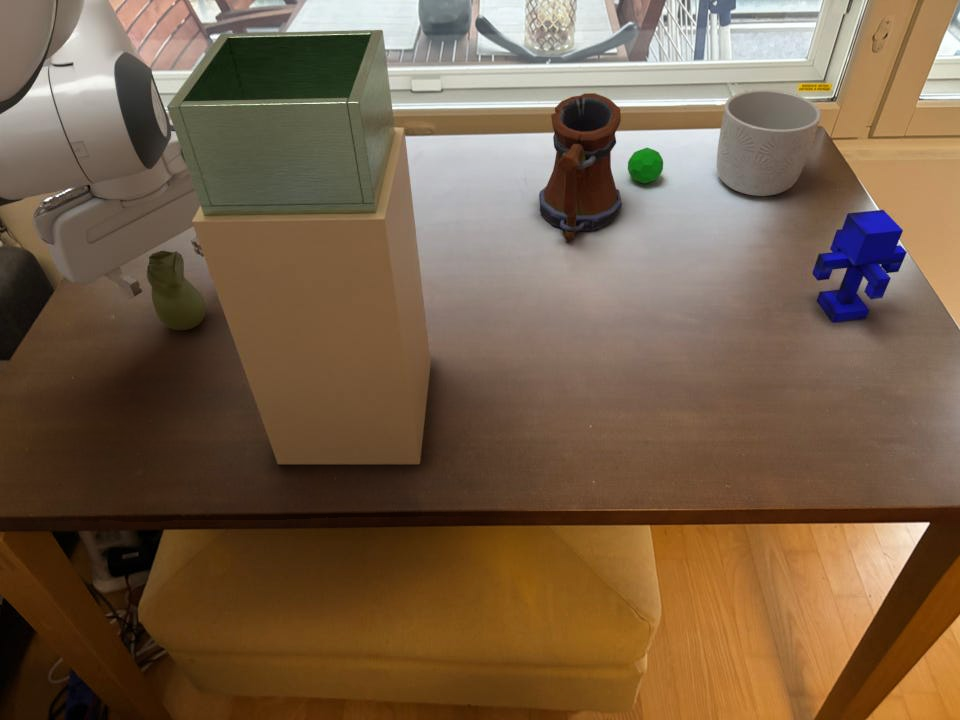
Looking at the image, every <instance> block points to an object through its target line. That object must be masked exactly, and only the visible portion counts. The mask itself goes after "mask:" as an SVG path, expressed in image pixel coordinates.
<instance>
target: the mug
mask: <svg viewBox="0 0 960 720" xmlns="http://www.w3.org/2000/svg"><path fill="white" fill-rule="evenodd" d="M554 111H555V112H554V113H552V114H550V118H551V125H552V129H553V132H554V133H553V136H552V139H553V140H552V141H553V147H554V150H555V151H556V153H555V159H554V164H553V169H552V173H551V175H550V176H549V179H548V181H547V184H546V186H545V187H543V188H542V189H541V190H540V191H539V194H538V200H539V210H540V211H539V212H540V215H541V217H543V218H544V219H545V220H546V221H548V223H550V225H552V226H554V227H558V228H561V229H563V230H564V231H565V233H564V240H565V241H567V242H571V241H572V240H573V239H574V237H575V235H576V234H577V232H578V231H581V232H582V231H583V232H584V231H596V230H598V229H600V228H602V227H605V226H607V225H609V224H610V223H612V222H613V220H614V219H615V217H616V216H617V214H618V213H619V212H620V211H621V209H622V206H623V203H622V197H621V192H620V190H619V189H618V188H617V186H616V183H615V180H614V179H615V178H614V175H613V171H612V166H611V165H612V164H611V163H612V162H611V161H612V156H611V155H612V154H611V153H612V151H613V149H614V147H615V146H616V144H617V139H616V133H617V130H618V128H619V127H620V124H621V121H622V118H621V108H620V107H619V106H618V105H617V104H615V102H614V101H612V100H611V99H610V98H608V97H606V96H604V95H601V94H598V93H595V92H594V93H593V92H591V93H587V92H586V93H583V94H581V95H574V96H571V97H568V98H566V99H564V100H561V101H560V102H559V103H558V104H557V106H555V108H554Z"/></svg>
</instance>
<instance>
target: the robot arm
mask: <svg viewBox="0 0 960 720" xmlns="http://www.w3.org/2000/svg"><path fill="white" fill-rule="evenodd" d="M51 193H55V194H51ZM47 194H50V195H48V196H46V197H44V198H41V200H40V201H39V205H38V206H37V207H36V208H35V210H34V212H33V213H32V216H31V221H32V224H33V225H32V226H33V227H34V229H35V231H36V233H37V235H38V237H39V238H40V239H41V241H43V242H44V243H46V246H47V249H48V252H49V254H50V256H51V257H50V258H51V260H52V261H53V264H54V266H55V268H56V270H57V271H58V272H59V273H60V275H61V276H62V277H63V278H65V279H66V280H68V281H69V282H71V283H74V284H77V285H80V286H87V285H90V284H91V283H94V282H95V281H97V280H99V279H100V278H102V277H106V278H107V279H109V280H110V281H111V282H113V283H115V284H117V285H118V288H119V290H120V292H121V293H122V294H123V295H124V296H125V297H126V298H128V299H129V300H131V299H133V298H134V297H136V296H138V295H140V294H141V293H143V290H142V288H141V287H140V282H139V281H138V280H137V279H136V278H135V277H134V278H133V276H131V275H130V274H127V275H126V276H123V277H121V275H122V274H123V271H122V269H121V267H122V266H124V265H126V264H127V263H129V262H131V261H133V260H135V259H137V258H139V257H141V256H142V255H144V254H146V253H149V252H150V251H152V250H153V249H155V248H157V247H158V246H160V245H162V244H165V243H166V242H168V241H170V240H171V239H173V238H175V237H177V236H179V235H181V234H183V233H185V232H186V231H188V230H190V229H192V228H194V226H193V224H192V220H193V218H194V217H195V215H196V213H197V211H198V209H199V207H200V203H199V200H198V197H197V194H196V191H195V188H194V185H193V182H192V179H191V176H190V173H189V170H188V167H187V165H186V162H185V159H184V156H183V153H182V150H181V147H180V144H179V141H178V138H177V135H176V132H175V129H174V126H173V123H172V120H171V119H170V117H169V115H168V113H167V111H166V107H165V106H164V103H163V100H162V98H161V95H160V92H159V90H158V87H157V84H156V80H155V78H154V75H153V69H152V68H151V67H149V66H148V65H147V64H145V62H143V61H142V60H141V59H140V58H138V57H137V55H136V54H135V51H134V49H133V45H132V43H131V41H130V38H129V37H128V35H127V33H126V30H125V29H124V26H123V24H122V22H121V20H120V19H119V17H118V15H117V13H116V10H115V9H114V7H113V5H112V4H111V2H110V0H0V207H3V206H6V205H10V204H14V203H17V202H20V201H22V200H24V199H28V198H33V197H37V196H42V195H47ZM190 243H191V245H192V246H193V251H194V252H195V253H196V255H199V256H200V257H202V258H204V255H203V252H202V249H201V246H200V243H199V241H198V238H197V235H196V234H195V237H193V238H191V239H190Z"/></svg>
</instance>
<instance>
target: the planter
mask: <svg viewBox="0 0 960 720" xmlns="http://www.w3.org/2000/svg"><path fill="white" fill-rule="evenodd" d="M821 117H822V113H821V110H820V108H819V107H818V106H817V105H816V104H815V103H813V102H812V101H811V100H809V99H807V98H805V97H803V96H801V95H798V94H794V93H791V92H787V91H782V90H776V89H775V90H774V89H754V90H747V91H742V92H739V93H737V94H736V93H735V94H734V95H732V96H731V97H729V98H728V99H727V100H726V101H725V103H724V107H723V113H722V119H721V125H720V129H719V130H720V131H719V136H718V143H717V152H716V171H717V175H718V177H719V178H720V180H721V181H722V183H724V185H726V186H727V187H729V188H730V189H732V190H734V191H736V192H739V193H740V194H744V195H749V196H756V197H767V196H773V195H778V194H781V193H784V192H785V191H787V190H789V189H790V188H792V187H793V186H794V185H795V183H796V182H797V181H798V180H799V178H800V175H802V174H801V173H802V171H803V169H804V166H805V164H806V161H807V159H808V157H809V153H810V151H811V148H812V146H813V145H812V144H813V143H814V139H815V136H816V132H817V130H818V127H819V124H820V122H821Z"/></svg>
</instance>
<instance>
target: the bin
mask: <svg viewBox="0 0 960 720" xmlns="http://www.w3.org/2000/svg"><path fill="white" fill-rule="evenodd" d="M166 109H167V112H168V114H169V118H170V120H172V123H173V126H174V129H175V132H176V135H177V138H178V141H179V144H180V147H181V150H182V153H183V156H184V159H185V162H186V165H187V167H188V170H189V173H190V176H191V179H192V182H193V185H194V188H195V191H196V194H197V197H198V200H199V203H200V207H199V209H198V211H197V213H196V215H195V217H194V218H193V220H192V224H193V229H194V233H195V236H196V235H197V238H198V241H199V243H200V246H201V249H202V252H203V255H204V256H203V258H204V260H205V263H206V266H207V268H208V272H209V274H210V277H211V280H212V283H213V285H214V289H215V291H216V295H217V297H218V299H219V302H220V306H221V308H222V311H223V314H224V317H225V319H226V322H227V325H228V328H229V330H230V333H231V336H232V339H233V342H234V345H235V348H236V350H237V351H236V352H237V353H238V355H239V359H240V362H241V365H242V368H243V370H244V373H245V375H246V378H247V382H248V385H249V387H250V390H251V393H252V395H253V399H254V401H255V404H256V407H257V411H258V412H259V416H260V418H261V420H262V424H263V427H264V429H265V433H266V435H267V438H268V441H269V443H270V446H271V450H272V452H273V455H274V458H275V460H276V463H277V465H421V457H422V450H423V449H422V447H423V439H424V431H425V429H424V428H425V420H426V411H427V400H428V392H429V383H430V373H431V355H430V347H429V337H428V328H427V319H426V311H425V301H424V291H423V283H422V275H421V266H420V257H419V249H418V239H417V230H416V220H415V212H414V203H413V195H412V194H413V192H412V185H411V176H410V166H409V159H408V151H407V150H408V148H407V140H406V130H405V127H401V126H400V127H396V126H395V119H394V118H395V117H394V111H393V103H392V94H391V86H390V78H389V68H388V62H387V53H386V46H385V36H384V31H383V30H382V29H361V30H360V29H358V30H357V29H356V30H319V31H318V30H317V31H316V30H315V31H280V32H279V31H277V32H241V33H240V32H239V33H235V32H234V33H220V34H219V35H218V36H217V38H216V39H215V40H214V42H213V44H212V45H211V46H210V47H209V49H208V50H207V51H206V53H205V54H204V56H203V57H202V58H201V60H200V61H199V62H198V64H197V65H196V66H195V68H194V69H193V70H192V72H191V73H190V74H189V76H188V77H187V79H186V80H185V81H184V83H183V84H182V85H181V87H180V88H179V89H178V91H177V92H176V94H175V95H174V96H173V97H172V99H171V100H170V102H169V103H168V104H167V105H166Z"/></svg>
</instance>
